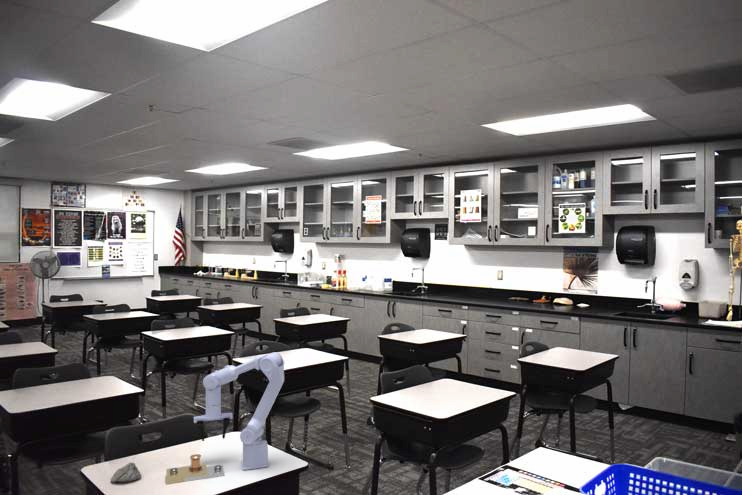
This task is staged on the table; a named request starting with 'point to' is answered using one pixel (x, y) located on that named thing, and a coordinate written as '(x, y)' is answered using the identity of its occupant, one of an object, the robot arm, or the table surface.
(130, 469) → the gray rock
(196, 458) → the pin
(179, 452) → the table surface
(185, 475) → the wooden peg board
